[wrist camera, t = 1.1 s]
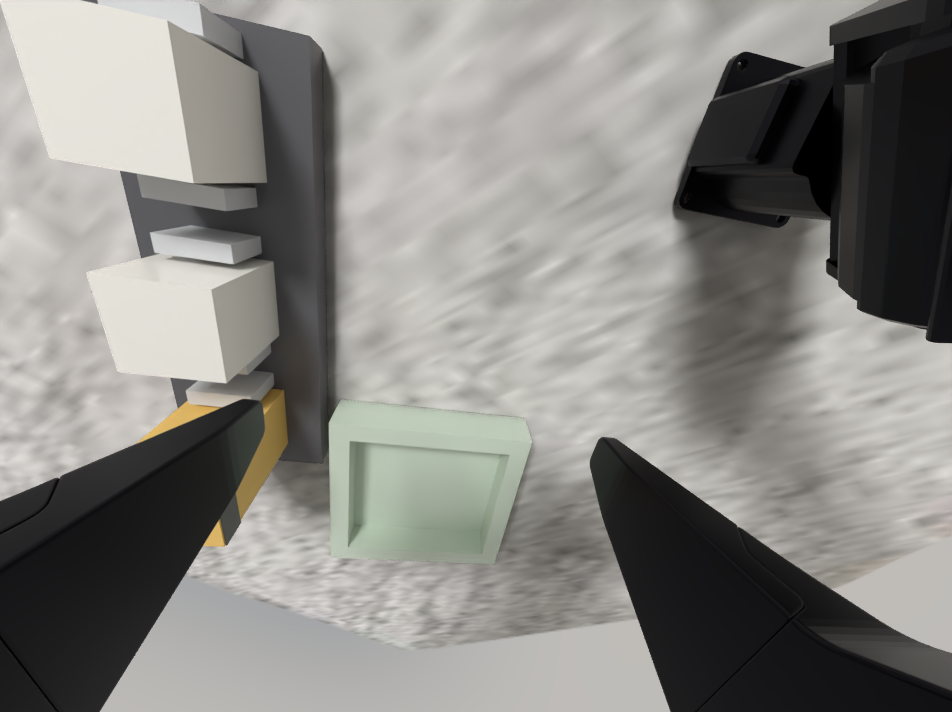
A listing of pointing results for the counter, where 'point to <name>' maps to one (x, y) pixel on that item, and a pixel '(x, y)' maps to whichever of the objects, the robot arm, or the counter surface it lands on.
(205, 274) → the block
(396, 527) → the tray
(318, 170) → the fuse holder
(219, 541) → the block
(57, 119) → the block
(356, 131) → the counter surface
